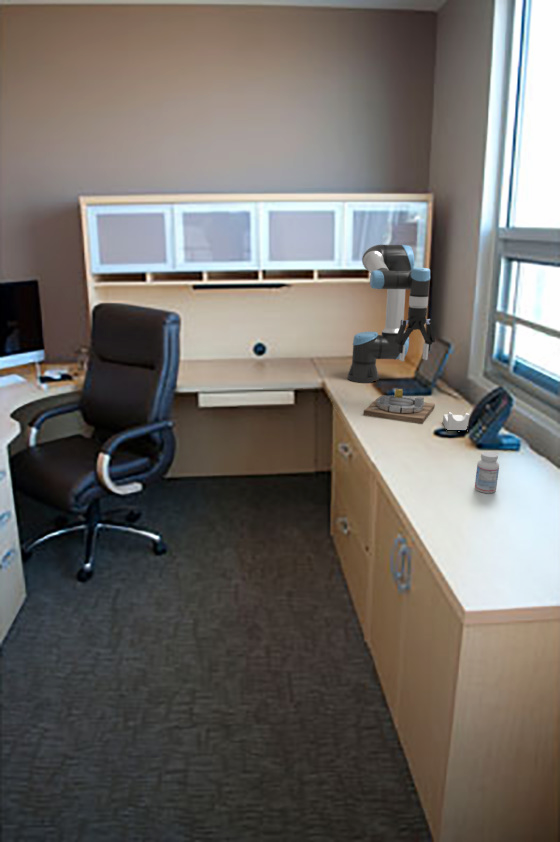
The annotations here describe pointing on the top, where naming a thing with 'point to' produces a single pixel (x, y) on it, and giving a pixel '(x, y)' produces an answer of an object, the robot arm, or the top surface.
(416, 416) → the walnut base
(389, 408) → the grey block ring
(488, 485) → the pill bottle
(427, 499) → the top surface
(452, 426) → the bracket
